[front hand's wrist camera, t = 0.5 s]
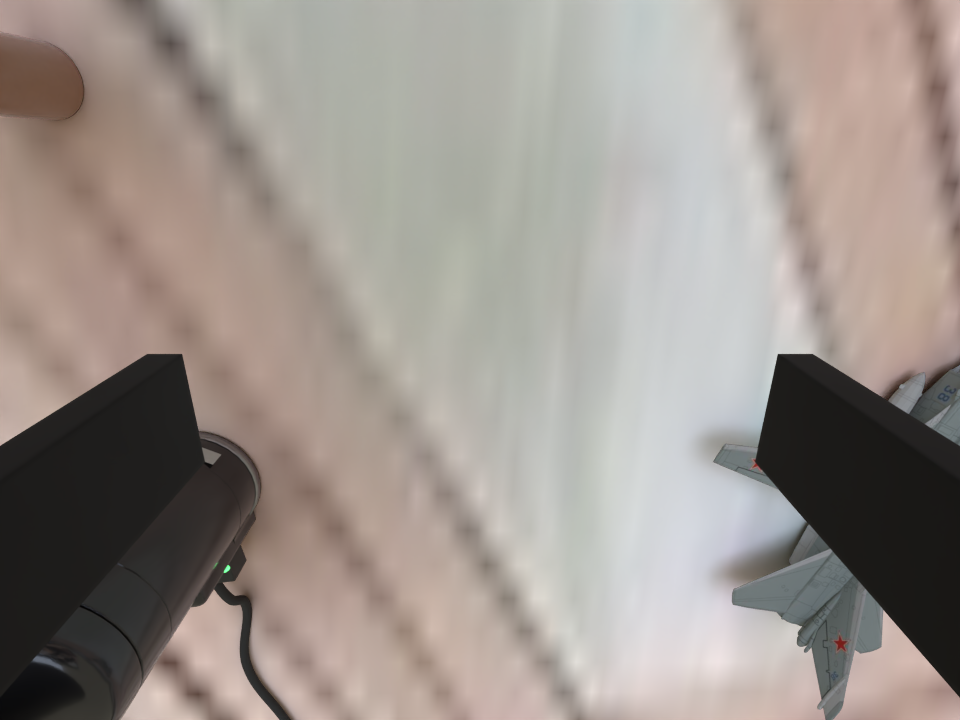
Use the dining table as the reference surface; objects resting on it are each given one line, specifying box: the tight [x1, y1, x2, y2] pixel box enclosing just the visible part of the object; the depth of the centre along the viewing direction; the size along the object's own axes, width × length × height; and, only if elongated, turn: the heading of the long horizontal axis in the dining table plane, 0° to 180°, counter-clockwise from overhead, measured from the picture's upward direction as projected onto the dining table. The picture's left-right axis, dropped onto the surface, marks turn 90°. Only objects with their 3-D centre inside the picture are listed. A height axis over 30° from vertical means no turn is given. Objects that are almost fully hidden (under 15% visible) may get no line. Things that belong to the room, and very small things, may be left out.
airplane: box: [714, 365, 960, 720], centre depth 40 cm, size 38×32×10 cm
